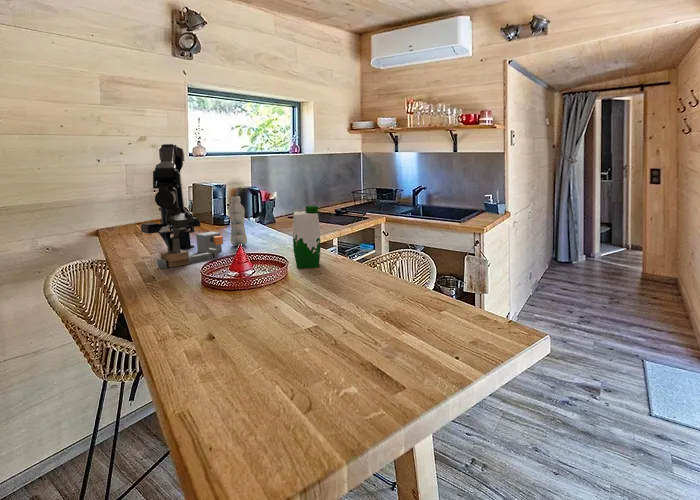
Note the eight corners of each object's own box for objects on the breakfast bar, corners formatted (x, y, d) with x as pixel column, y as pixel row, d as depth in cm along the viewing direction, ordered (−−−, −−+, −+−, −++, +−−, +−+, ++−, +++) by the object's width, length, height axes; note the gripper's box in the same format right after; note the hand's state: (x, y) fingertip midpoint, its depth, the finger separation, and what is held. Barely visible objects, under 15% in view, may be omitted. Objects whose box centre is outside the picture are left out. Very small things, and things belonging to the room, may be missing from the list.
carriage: (161, 265, 161) (158, 238, 159) (180, 261, 166) (178, 235, 164) (170, 267, 157) (167, 240, 155) (189, 263, 162) (186, 237, 160)
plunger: (206, 243, 181) (205, 235, 181) (213, 241, 184) (212, 234, 183) (216, 245, 177) (215, 237, 176) (223, 244, 179) (222, 236, 178)
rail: (157, 267, 159) (156, 258, 159) (211, 256, 174) (211, 248, 174) (163, 269, 157) (162, 260, 156) (217, 257, 172) (217, 249, 171)
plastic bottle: (243, 247, 189) (240, 198, 184) (228, 247, 190) (224, 198, 186) (250, 244, 195) (246, 196, 190) (234, 244, 196) (231, 196, 192)
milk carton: (321, 268, 154) (319, 207, 149) (293, 269, 153) (290, 208, 149) (320, 261, 162) (318, 204, 158) (294, 263, 162) (291, 205, 157)
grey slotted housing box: (197, 251, 183) (196, 234, 182) (213, 248, 188) (212, 231, 187) (205, 253, 179) (204, 235, 178) (221, 250, 184) (220, 233, 183)
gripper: (153, 209, 145) (158, 258, 149) (206, 203, 159) (210, 248, 162) (137, 206, 153) (143, 253, 156) (190, 201, 166) (194, 244, 170)
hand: (174, 249), depth 161 cm, fingers closed on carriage, 2 cm apart
